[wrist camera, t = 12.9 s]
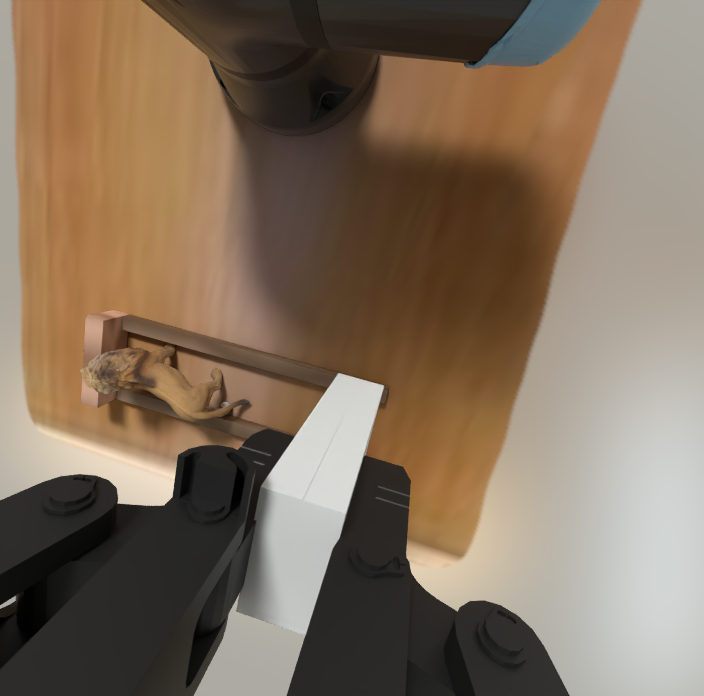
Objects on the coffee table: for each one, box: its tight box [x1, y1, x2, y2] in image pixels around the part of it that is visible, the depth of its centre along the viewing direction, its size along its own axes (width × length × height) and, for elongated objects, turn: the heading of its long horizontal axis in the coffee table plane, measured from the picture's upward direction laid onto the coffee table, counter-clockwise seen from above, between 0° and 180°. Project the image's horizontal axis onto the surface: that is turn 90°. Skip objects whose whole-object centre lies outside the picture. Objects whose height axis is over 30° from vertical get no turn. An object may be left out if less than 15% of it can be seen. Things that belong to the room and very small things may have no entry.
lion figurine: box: [80, 343, 250, 421], centre depth 43 cm, size 15×5×9 cm, turn 69°
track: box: [81, 310, 389, 439], centre depth 45 cm, size 10×32×4 cm, turn 77°
